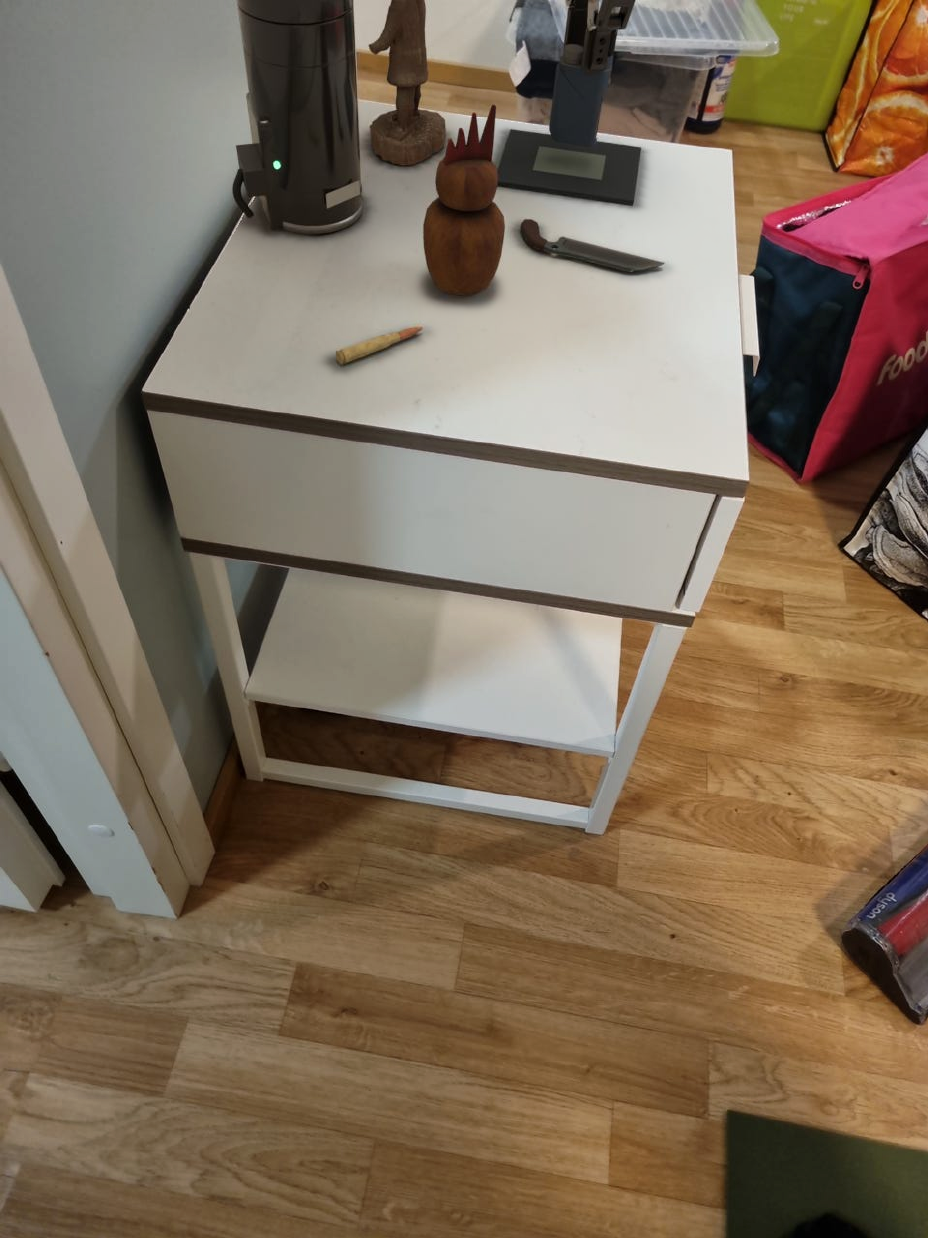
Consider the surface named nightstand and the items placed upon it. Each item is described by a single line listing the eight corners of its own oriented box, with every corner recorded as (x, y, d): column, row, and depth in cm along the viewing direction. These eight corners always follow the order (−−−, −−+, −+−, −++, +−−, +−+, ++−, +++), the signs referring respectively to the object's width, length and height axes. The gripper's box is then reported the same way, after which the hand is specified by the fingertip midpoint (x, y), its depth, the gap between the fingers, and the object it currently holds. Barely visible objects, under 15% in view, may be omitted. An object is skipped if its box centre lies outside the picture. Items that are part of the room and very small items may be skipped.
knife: (510, 244, 84) (511, 237, 83) (524, 223, 86) (525, 216, 86) (656, 282, 82) (658, 275, 81) (667, 259, 84) (668, 252, 83)
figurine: (380, 120, 97) (374, -111, 81) (450, 129, 97) (458, -102, 81) (362, 161, 92) (352, -78, 76) (435, 170, 92) (441, -68, 75)
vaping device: (597, 149, 90) (620, 13, 80) (545, 140, 91) (562, 4, 81) (601, 137, 92) (624, 2, 82) (550, 128, 92) (567, -7, 82)
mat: (493, 185, 90) (493, 179, 90) (510, 133, 97) (510, 128, 96) (633, 205, 89) (634, 199, 89) (640, 151, 96) (641, 146, 96)
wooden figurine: (501, 269, 82) (517, 93, 70) (496, 307, 78) (512, 129, 66) (427, 262, 82) (430, 85, 70) (418, 299, 78) (420, 120, 66)
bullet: (335, 358, 73) (342, 367, 73) (335, 348, 72) (341, 356, 72) (418, 328, 76) (426, 336, 76) (419, 318, 75) (426, 326, 75)
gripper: (541, -199, 75) (520, 33, 88) (608, -145, 67) (574, 100, 81) (624, -201, 76) (591, 27, 90) (700, -149, 68) (651, 93, 82)
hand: (583, 61), depth 85 cm, fingers closed on vaping device, 3 cm apart
